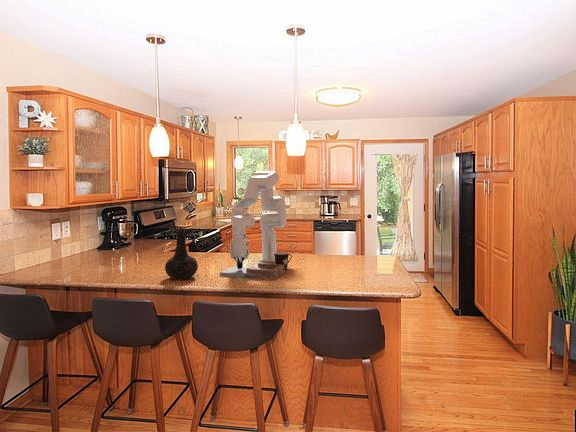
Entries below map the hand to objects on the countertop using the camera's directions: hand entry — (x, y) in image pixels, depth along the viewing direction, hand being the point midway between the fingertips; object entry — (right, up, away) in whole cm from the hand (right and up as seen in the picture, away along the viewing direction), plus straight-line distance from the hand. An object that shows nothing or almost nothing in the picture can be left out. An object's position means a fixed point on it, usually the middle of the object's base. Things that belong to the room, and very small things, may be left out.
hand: (239, 268), depth 263 cm
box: (+15, -3, -6) cm, 17 cm away
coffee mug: (+26, -2, +9) cm, 27 cm away
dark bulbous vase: (-32, -5, -9) cm, 33 cm away
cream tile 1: (+9, -2, -3) cm, 10 cm away
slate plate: (0, -3, 0) cm, 3 cm away
